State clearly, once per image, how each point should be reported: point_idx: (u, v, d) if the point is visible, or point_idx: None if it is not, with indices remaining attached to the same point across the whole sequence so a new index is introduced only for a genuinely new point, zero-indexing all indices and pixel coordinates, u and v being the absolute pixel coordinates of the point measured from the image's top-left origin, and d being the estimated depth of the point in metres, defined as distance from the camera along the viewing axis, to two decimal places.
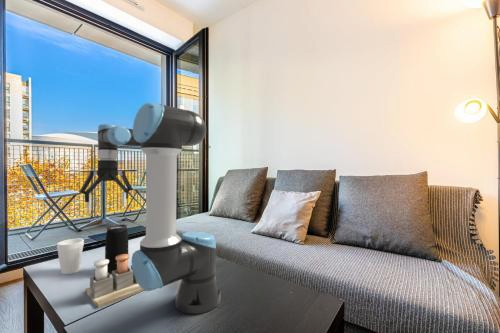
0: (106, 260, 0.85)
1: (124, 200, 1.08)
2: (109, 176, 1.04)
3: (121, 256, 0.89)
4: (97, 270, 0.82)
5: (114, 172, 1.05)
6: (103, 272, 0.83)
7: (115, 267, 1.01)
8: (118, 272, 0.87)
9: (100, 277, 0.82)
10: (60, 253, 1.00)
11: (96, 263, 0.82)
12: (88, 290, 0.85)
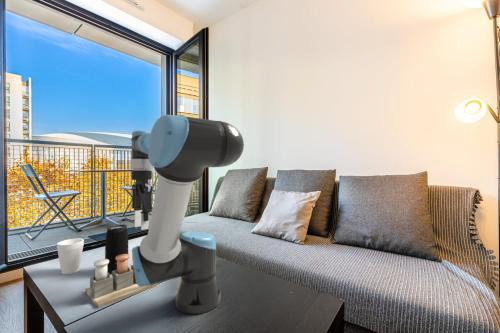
0: (106, 260, 0.85)
1: (141, 222, 0.92)
2: None
3: (121, 256, 0.89)
4: (97, 270, 0.82)
5: (141, 183, 0.92)
6: (103, 272, 0.83)
7: (115, 267, 1.01)
8: (118, 272, 0.87)
9: (100, 277, 0.82)
10: (60, 253, 1.00)
11: (96, 263, 0.82)
12: (88, 290, 0.85)
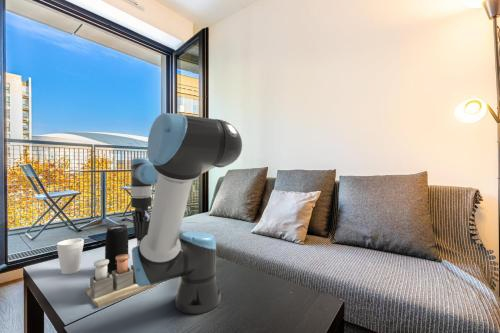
0: (106, 260, 0.85)
1: None
2: None
3: (121, 256, 0.89)
4: (97, 270, 0.82)
5: (141, 210, 0.92)
6: (103, 272, 0.83)
7: (115, 267, 1.01)
8: (118, 272, 0.87)
9: (100, 277, 0.82)
10: (60, 253, 1.00)
11: (96, 263, 0.82)
12: (88, 290, 0.85)
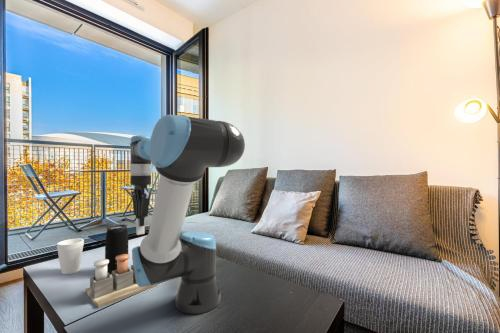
0: (106, 260, 0.85)
1: (137, 227, 0.93)
2: None
3: (121, 256, 0.89)
4: (97, 270, 0.82)
5: (140, 188, 0.92)
6: (103, 272, 0.83)
7: (115, 267, 1.01)
8: (118, 272, 0.87)
9: (100, 277, 0.82)
10: (60, 253, 1.00)
11: (96, 263, 0.82)
12: (88, 290, 0.85)
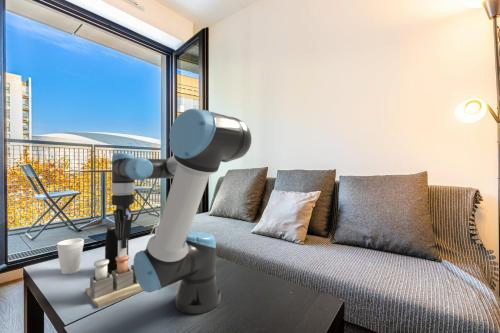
0: (106, 260, 0.85)
1: (118, 249, 0.88)
2: None
3: (121, 257, 0.89)
4: (97, 270, 0.82)
5: (122, 208, 0.87)
6: (103, 272, 0.83)
7: (115, 267, 1.01)
8: (118, 273, 0.87)
9: (100, 277, 0.82)
10: (60, 253, 1.00)
11: (96, 263, 0.82)
12: (88, 290, 0.85)
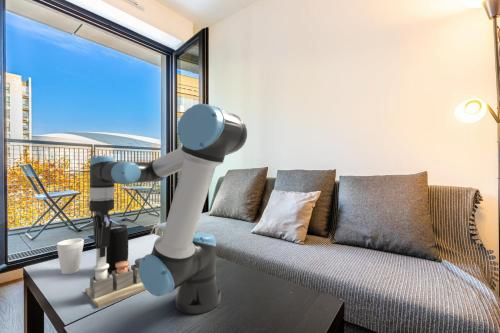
0: (106, 264, 0.85)
1: (97, 258, 0.83)
2: None
3: (121, 263, 0.89)
4: (97, 274, 0.82)
5: (100, 215, 0.81)
6: (103, 276, 0.83)
7: (115, 267, 1.01)
8: None
9: None
10: (60, 253, 1.00)
11: (96, 267, 0.82)
12: (88, 290, 0.85)
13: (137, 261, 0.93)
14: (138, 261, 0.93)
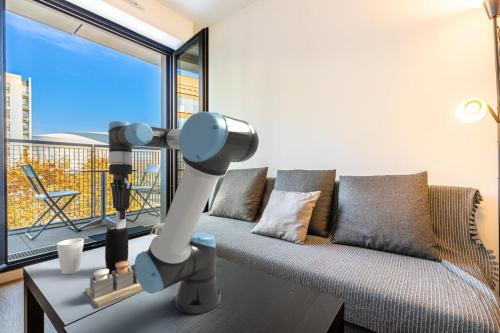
0: (106, 270, 0.85)
1: (117, 221, 0.85)
2: None
3: (121, 263, 0.89)
4: (97, 280, 0.82)
5: (120, 178, 0.84)
6: None
7: (115, 267, 1.01)
8: None
9: None
10: (60, 253, 1.00)
11: (96, 273, 0.82)
12: (88, 290, 0.85)
13: None
14: None
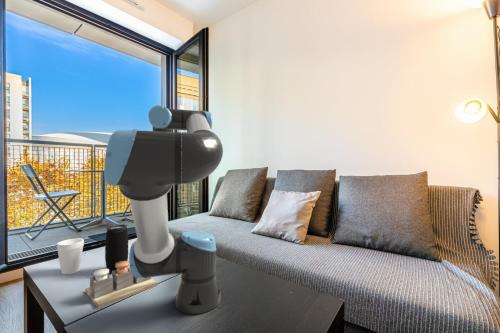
0: (106, 270, 0.85)
1: None
2: None
3: (121, 263, 0.89)
4: (97, 280, 0.82)
5: None
6: None
7: (115, 267, 1.01)
8: None
9: None
10: (60, 253, 1.00)
11: (96, 273, 0.82)
12: (88, 290, 0.85)
13: None
14: None
